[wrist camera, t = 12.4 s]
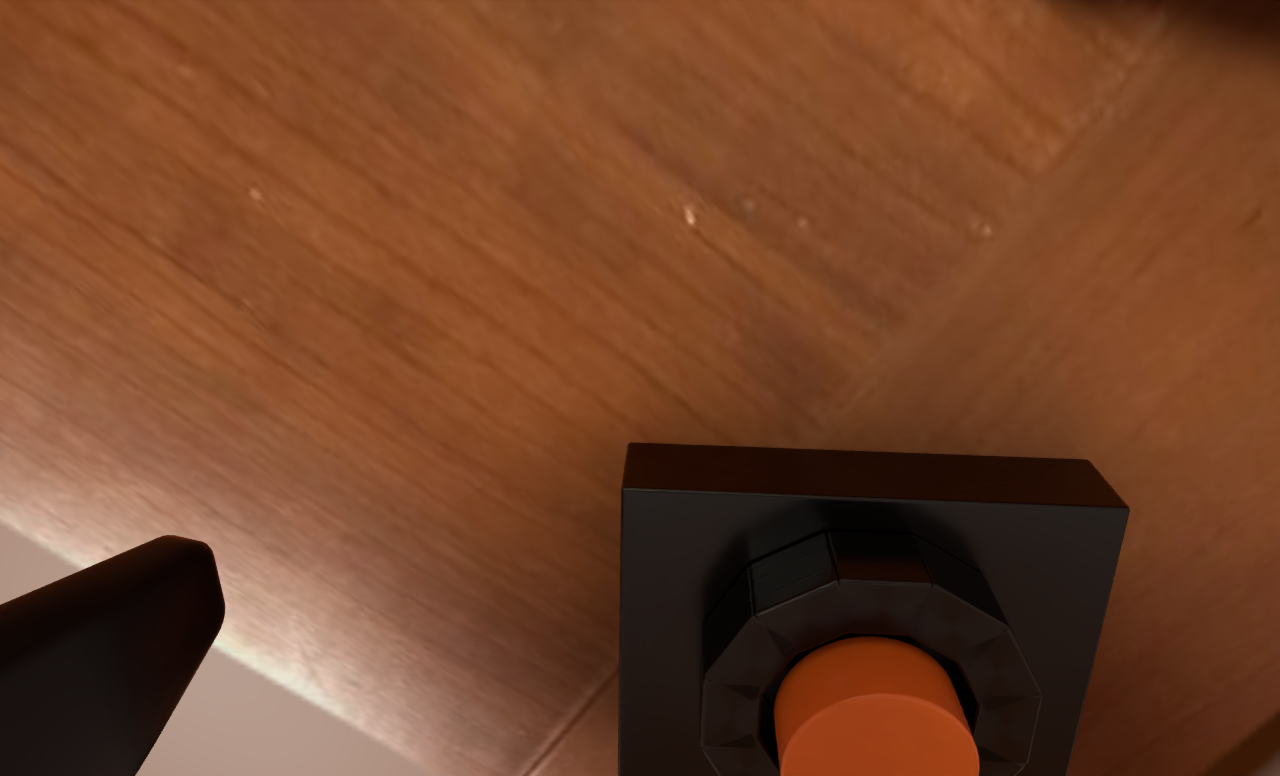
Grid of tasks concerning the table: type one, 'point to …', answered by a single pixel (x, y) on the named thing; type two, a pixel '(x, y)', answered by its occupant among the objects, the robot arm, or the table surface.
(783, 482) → the button housing
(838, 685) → the button
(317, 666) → the table surface
